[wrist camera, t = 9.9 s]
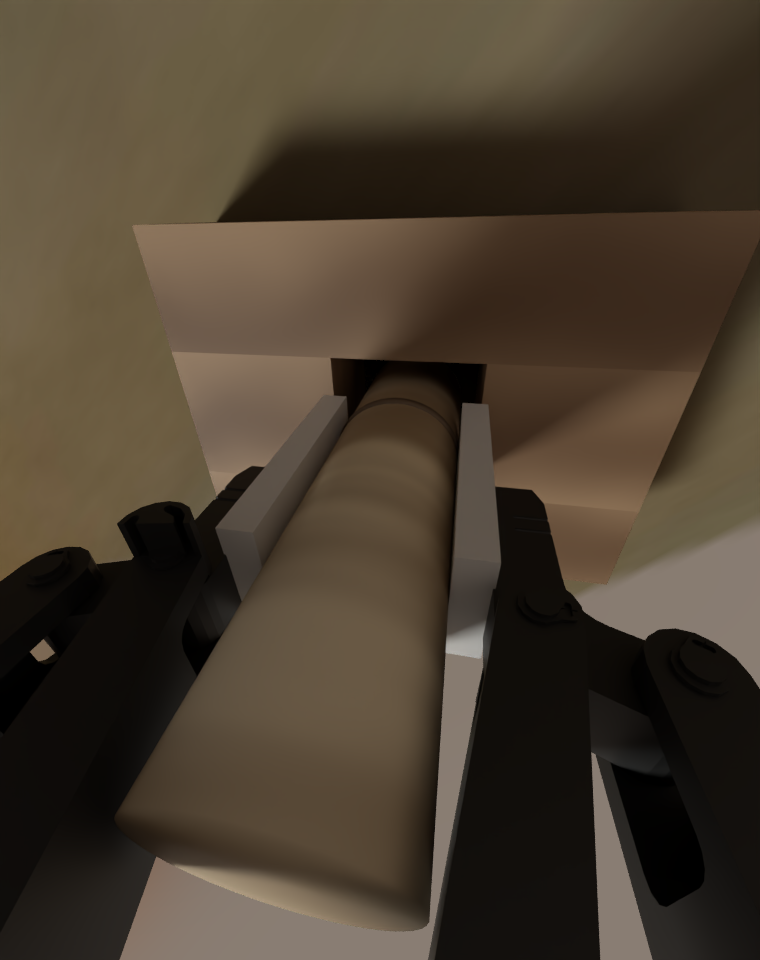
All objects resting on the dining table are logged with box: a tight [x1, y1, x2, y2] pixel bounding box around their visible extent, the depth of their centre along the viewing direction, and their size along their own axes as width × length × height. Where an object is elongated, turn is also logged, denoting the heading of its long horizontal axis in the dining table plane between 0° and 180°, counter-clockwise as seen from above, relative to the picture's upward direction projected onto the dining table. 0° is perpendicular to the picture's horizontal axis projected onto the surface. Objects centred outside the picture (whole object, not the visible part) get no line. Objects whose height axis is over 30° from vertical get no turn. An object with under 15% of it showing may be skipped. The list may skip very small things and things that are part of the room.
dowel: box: [114, 360, 461, 931], centre depth 10 cm, size 4×4×14 cm
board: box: [132, 210, 760, 585], centre depth 15 cm, size 12×16×4 cm
